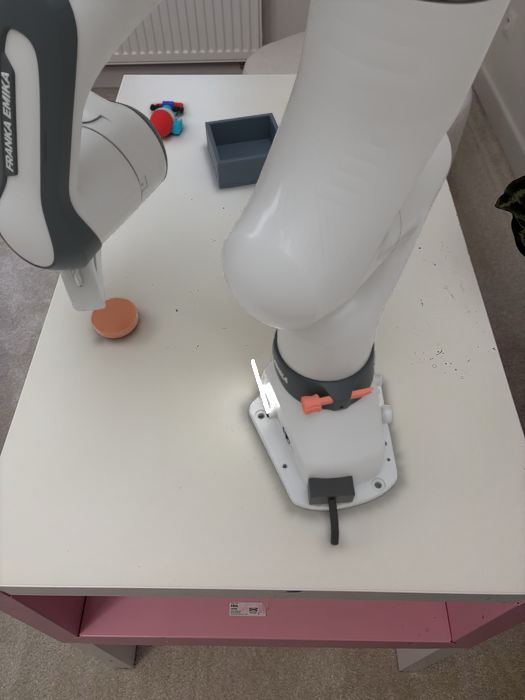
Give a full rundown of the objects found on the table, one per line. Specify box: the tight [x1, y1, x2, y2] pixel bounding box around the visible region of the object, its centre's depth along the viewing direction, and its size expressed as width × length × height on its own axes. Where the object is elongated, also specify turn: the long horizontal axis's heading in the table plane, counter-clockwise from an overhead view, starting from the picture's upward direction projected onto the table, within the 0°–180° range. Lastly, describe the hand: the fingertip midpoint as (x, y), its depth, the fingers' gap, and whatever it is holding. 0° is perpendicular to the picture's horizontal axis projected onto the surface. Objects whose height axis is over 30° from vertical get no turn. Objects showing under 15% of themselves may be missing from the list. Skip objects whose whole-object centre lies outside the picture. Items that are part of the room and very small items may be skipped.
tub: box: [204, 112, 279, 190], centre depth 101 cm, size 14×14×6 cm
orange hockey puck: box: [90, 297, 139, 339], centre depth 79 cm, size 7×7×2 cm
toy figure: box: [149, 100, 185, 138], centre depth 109 cm, size 8×5×15 cm
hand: (97, 279), depth 72 cm, fingers open, 8 cm apart
